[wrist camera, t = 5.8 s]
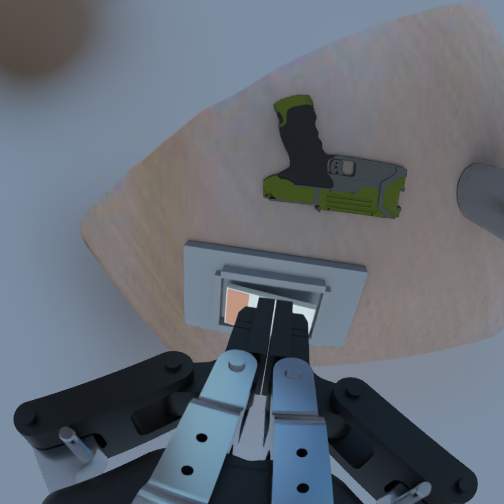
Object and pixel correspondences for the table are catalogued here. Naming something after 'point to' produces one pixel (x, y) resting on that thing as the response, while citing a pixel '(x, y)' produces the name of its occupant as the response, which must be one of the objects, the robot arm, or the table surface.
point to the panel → (271, 287)
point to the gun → (330, 184)
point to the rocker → (249, 297)
